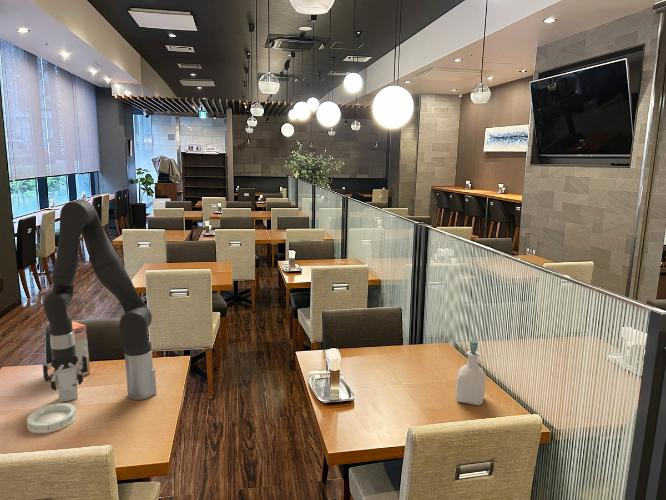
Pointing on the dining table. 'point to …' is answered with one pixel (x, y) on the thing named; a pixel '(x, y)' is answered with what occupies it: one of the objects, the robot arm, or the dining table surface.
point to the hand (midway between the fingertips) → (67, 386)
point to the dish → (51, 418)
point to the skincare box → (67, 384)
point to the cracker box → (81, 344)
